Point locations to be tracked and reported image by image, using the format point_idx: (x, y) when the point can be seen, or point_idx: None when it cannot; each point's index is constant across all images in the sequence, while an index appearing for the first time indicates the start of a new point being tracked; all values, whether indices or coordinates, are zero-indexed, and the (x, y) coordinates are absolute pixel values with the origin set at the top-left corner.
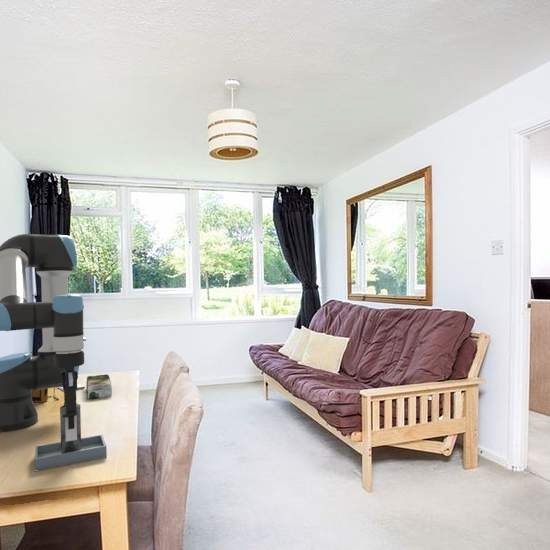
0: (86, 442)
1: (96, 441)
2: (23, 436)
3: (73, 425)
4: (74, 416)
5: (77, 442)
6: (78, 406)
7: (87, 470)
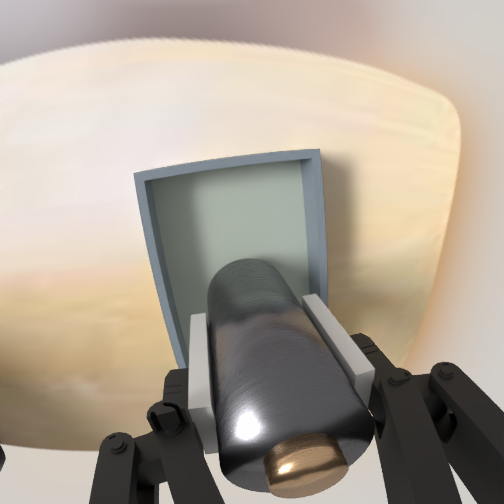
0: (159, 243)
1: (152, 198)
2: (20, 419)
3: (372, 346)
4: (370, 375)
5: (287, 285)
6: (346, 406)
7: (387, 218)
